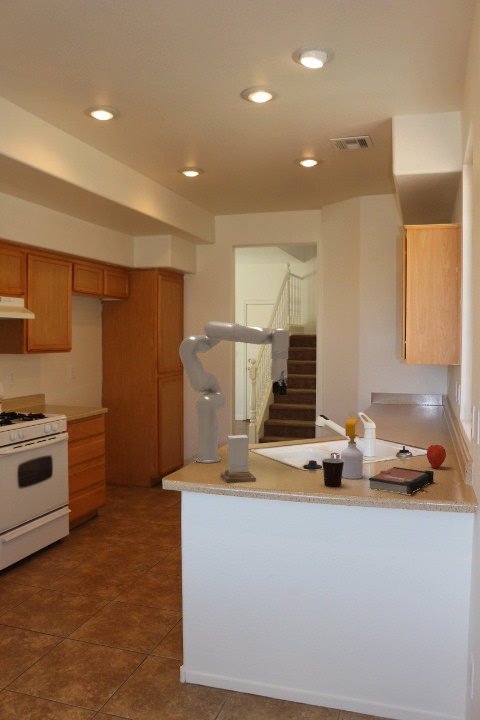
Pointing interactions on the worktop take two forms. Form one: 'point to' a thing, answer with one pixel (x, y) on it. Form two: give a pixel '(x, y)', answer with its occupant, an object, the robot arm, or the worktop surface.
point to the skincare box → (238, 454)
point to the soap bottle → (352, 454)
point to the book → (401, 480)
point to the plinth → (237, 477)
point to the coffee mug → (332, 472)
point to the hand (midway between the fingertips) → (279, 394)
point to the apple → (436, 455)
